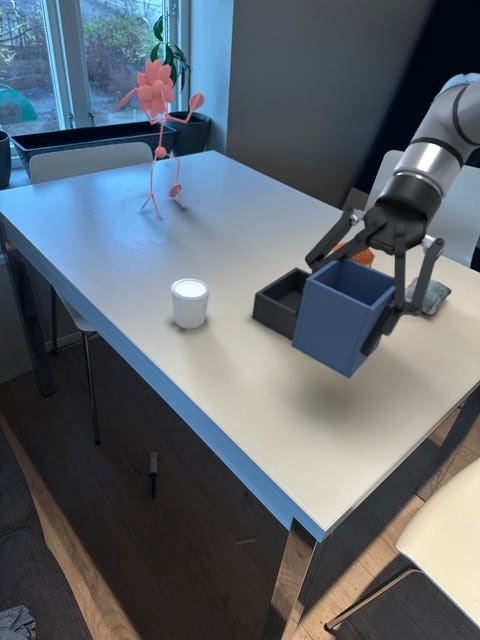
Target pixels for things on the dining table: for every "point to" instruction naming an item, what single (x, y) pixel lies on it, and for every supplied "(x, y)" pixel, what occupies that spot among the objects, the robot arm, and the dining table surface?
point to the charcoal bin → (281, 302)
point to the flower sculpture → (159, 108)
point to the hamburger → (360, 256)
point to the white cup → (190, 302)
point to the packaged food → (429, 295)
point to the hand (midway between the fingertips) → (330, 335)
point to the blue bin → (341, 313)
